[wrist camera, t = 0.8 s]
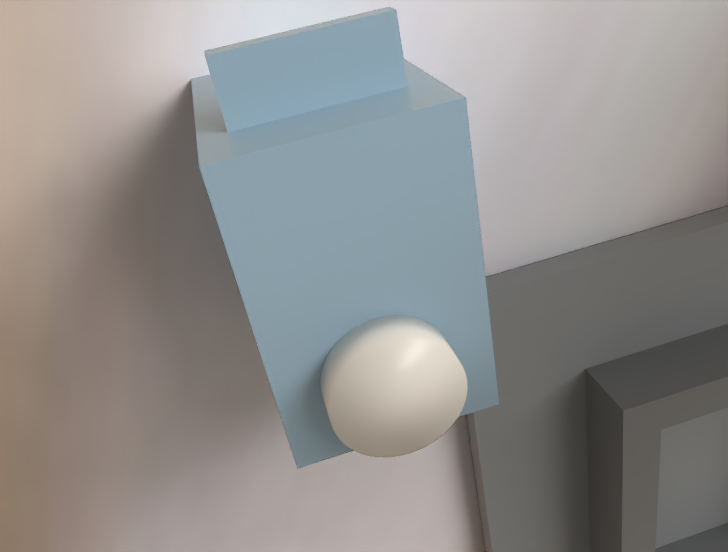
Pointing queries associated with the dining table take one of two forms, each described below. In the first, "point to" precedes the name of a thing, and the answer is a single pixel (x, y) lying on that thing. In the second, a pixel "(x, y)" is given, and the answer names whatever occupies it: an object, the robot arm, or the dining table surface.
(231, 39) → the dining table surface
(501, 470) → the chassis plate
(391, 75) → the block
